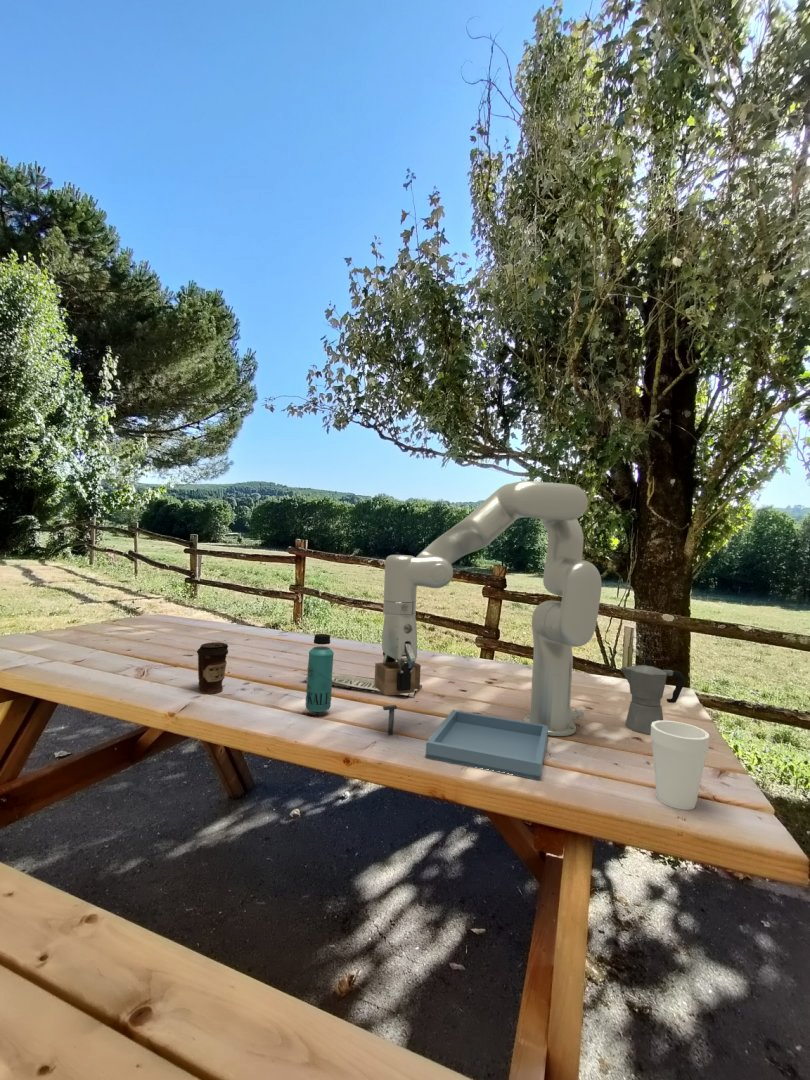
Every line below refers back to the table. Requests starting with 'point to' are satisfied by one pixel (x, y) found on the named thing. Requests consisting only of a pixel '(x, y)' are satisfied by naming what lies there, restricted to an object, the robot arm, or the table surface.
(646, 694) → the coffeepot
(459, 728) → the slate tray
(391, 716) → the t head stake
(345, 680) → the newspaper
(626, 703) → the table surface
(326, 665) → the beverage bottle
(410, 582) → the robot arm
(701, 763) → the foam cup
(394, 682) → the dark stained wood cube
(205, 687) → the coffee cup
